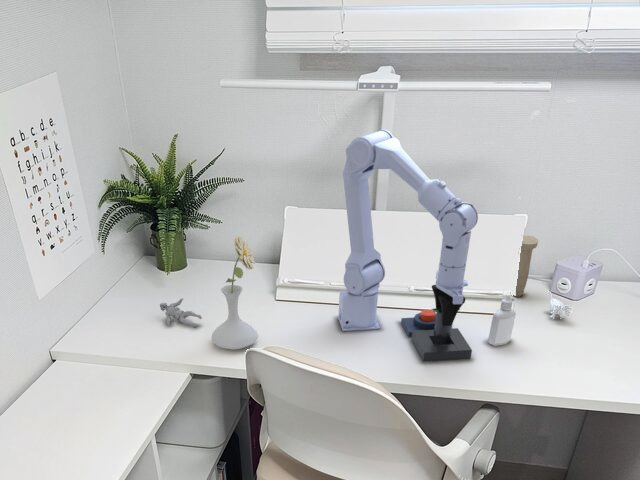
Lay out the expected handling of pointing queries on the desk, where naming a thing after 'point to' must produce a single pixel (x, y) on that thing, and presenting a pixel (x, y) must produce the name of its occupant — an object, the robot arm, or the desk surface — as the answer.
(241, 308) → the desk surface
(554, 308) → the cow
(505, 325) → the eye dropper bottle
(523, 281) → the handle
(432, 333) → the square hole block
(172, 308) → the soldier figure
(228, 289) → the flower in vase
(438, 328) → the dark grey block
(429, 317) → the stop button
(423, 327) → the switch box
